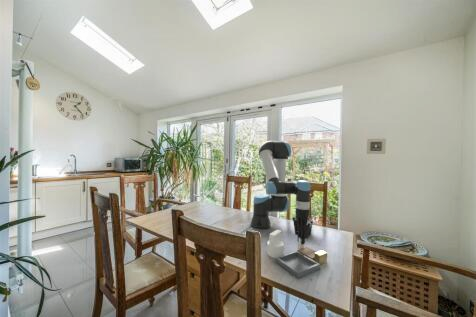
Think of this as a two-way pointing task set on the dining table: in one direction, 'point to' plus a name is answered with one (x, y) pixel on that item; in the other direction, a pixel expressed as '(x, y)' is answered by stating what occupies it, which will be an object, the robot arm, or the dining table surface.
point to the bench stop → (320, 257)
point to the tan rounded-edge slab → (307, 252)
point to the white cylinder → (275, 244)
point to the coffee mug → (311, 226)
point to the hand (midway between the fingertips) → (300, 248)
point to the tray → (297, 264)
